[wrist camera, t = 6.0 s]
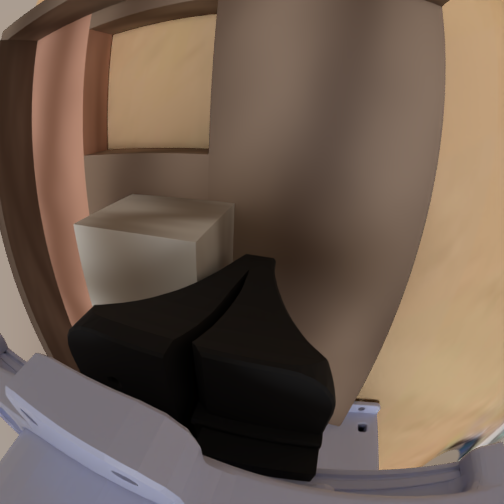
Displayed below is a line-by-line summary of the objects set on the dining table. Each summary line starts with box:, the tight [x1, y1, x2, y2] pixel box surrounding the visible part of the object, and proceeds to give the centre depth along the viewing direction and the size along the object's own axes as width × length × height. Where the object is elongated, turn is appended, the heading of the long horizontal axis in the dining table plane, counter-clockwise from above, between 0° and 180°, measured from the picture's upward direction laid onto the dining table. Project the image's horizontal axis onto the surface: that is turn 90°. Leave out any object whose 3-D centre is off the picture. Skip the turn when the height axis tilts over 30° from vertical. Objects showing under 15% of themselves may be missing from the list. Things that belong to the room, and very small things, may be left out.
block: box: [73, 194, 235, 307], centre depth 11 cm, size 5×5×4 cm
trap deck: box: [0, 0, 449, 426], centre depth 13 cm, size 22×27×5 cm
